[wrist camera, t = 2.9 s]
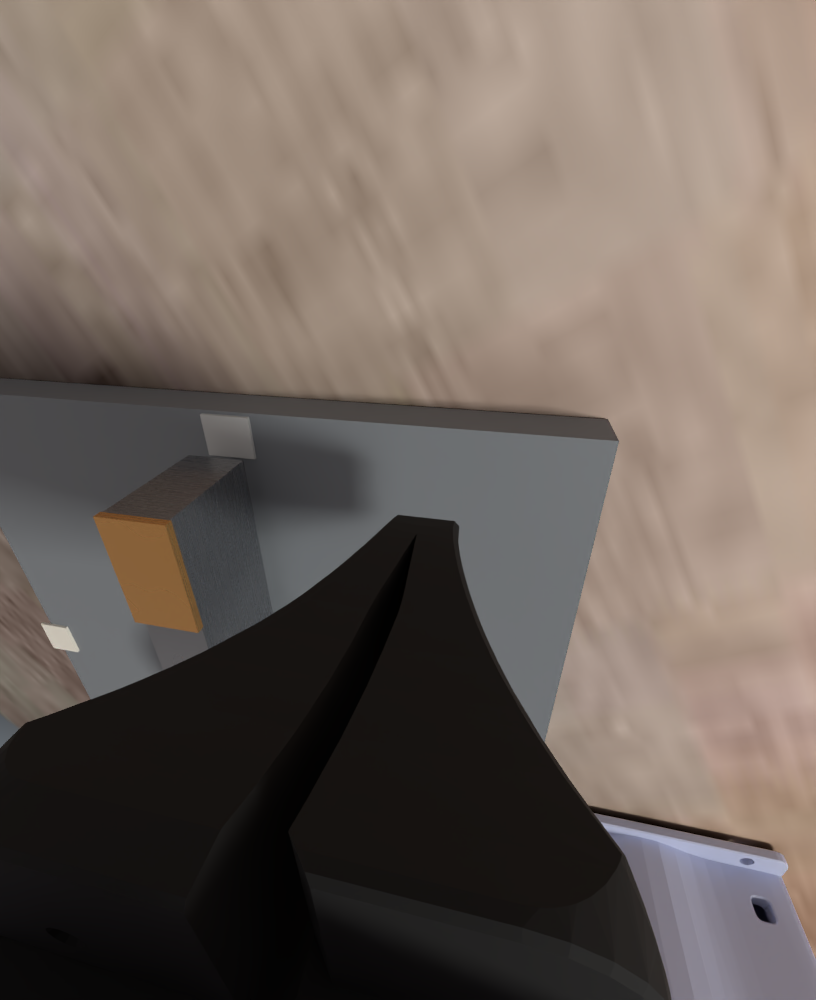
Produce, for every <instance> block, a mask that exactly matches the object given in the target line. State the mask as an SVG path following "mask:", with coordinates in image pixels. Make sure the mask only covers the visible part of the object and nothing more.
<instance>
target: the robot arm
mask: <svg viewBox="0 0 816 1000" xmlns="http://www.w3.org/2000/svg"><path fill="white" fill-rule="evenodd" d="M458 539H459V525H458V524H457V523H456V522H455V521H450V520H441V519H432V518H423V517H414V516H405V515H397V516H396V517H394V518H393V519H392V520H391V521H390V522H388V523H387V524H386V525H385V526H384V527H383V528H382V529H381V530H380V531H379V532H378V533H377V534H376V535H374V536H373V537H372V538H371V539H370V540H369V541H368V542H367V543H366V544H364V545H363V546H362V547H361V548H360V549H359V550H358V551H356V552H355V553H354V554H353V555H352V556H351V557H349V558H348V559H347V560H346V561H345V562H344V563H342V564H341V565H340V566H339V567H338V568H336V569H335V570H334V571H333V572H331V573H330V574H329V575H327V576H326V577H325V578H323V579H322V580H321V581H319V582H318V583H317V584H315V585H314V586H313V587H312V588H310V589H309V590H308V591H306V592H305V593H303V594H302V595H301V596H299V597H298V598H296V599H295V600H293V601H292V602H290V603H289V604H287V605H286V606H284V607H283V608H281V609H279V610H278V611H276V612H274V613H273V614H271V615H270V616H268V617H266V618H265V619H263V620H261V621H260V622H258V623H256V624H255V625H253V626H251V627H249V628H247V629H245V630H243V631H241V632H240V633H238V634H236V635H234V636H232V637H230V638H228V639H226V640H225V641H223V642H221V643H219V644H217V645H215V646H213V647H211V648H209V649H208V650H206V651H204V652H202V653H200V654H197V655H195V656H193V657H191V658H189V659H187V660H185V661H182V662H180V663H178V664H176V665H174V666H172V667H169V668H167V669H165V670H163V671H160V672H158V673H156V674H153V675H151V676H149V677H146V678H144V679H142V680H139V681H137V682H135V683H132V684H130V685H127V686H125V687H122V688H120V689H117V690H115V691H112V692H110V693H107V694H104V695H101V696H99V697H96V698H93V699H91V700H88V701H85V702H83V703H80V704H77V705H75V706H72V707H69V708H66V709H64V710H61V711H58V712H56V713H53V714H50V715H48V716H45V717H42V718H39V719H36V720H33V721H30V722H27V723H25V724H24V725H23V726H22V727H21V728H20V729H19V730H18V731H17V732H16V733H15V734H14V735H13V736H12V737H11V738H10V739H9V740H8V741H7V742H6V743H5V744H4V745H3V746H2V747H1V748H0V1000H816V959H815V956H814V954H813V952H812V949H811V947H810V944H809V942H808V940H807V937H806V935H805V932H804V930H803V927H802V925H801V923H800V920H799V918H798V915H797V913H796V911H795V908H794V906H793V903H792V901H791V898H790V896H789V894H788V891H787V889H786V886H785V884H784V882H783V879H782V877H781V876H782V875H783V874H784V873H785V872H786V871H787V869H788V864H787V862H786V860H785V858H784V856H783V855H782V854H780V853H779V852H776V851H772V850H767V849H763V848H758V847H753V846H749V845H744V844H739V843H734V842H730V841H725V840H720V839H715V838H711V837H706V836H701V835H696V834H692V833H687V832H682V831H677V830H673V829H668V828H663V827H659V826H654V825H649V824H644V823H640V822H635V821H630V820H625V819H621V818H616V817H611V816H606V815H602V814H597V813H593V812H592V810H591V809H590V808H589V806H588V805H587V803H586V802H585V801H584V799H583V798H582V796H581V795H580V794H579V792H578V791H577V789H576V788H575V787H574V785H573V784H572V782H571V781H570V780H569V778H568V777H567V775H566V774H565V772H564V771H563V769H562V768H561V766H560V765H559V763H558V762H557V760H556V759H555V757H554V756H553V754H552V753H551V751H550V750H549V748H548V747H547V745H546V744H545V742H544V741H543V739H542V738H541V736H540V734H539V733H538V731H537V729H536V728H535V726H534V724H533V723H532V721H531V719H530V718H529V716H528V714H527V713H526V711H525V709H524V708H523V706H522V704H521V703H520V701H519V699H518V698H517V696H516V694H515V693H514V691H513V689H512V687H511V686H510V684H509V682H508V680H507V678H506V676H505V674H504V672H503V670H502V668H501V666H500V664H499V663H498V661H497V658H496V656H495V654H494V652H493V650H492V648H491V646H490V644H489V641H488V639H487V637H486V635H485V632H484V630H483V627H482V625H481V623H480V620H479V617H478V615H477V612H476V609H475V607H474V604H473V601H472V598H471V595H470V592H469V589H468V585H467V582H466V578H465V574H464V571H463V567H462V562H461V557H460V551H459V543H458Z"/></svg>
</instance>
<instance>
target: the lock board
mask: <svg viewBox="0 0 816 1000" xmlns="http://www.w3.org/2000/svg"><path fill="white" fill-rule="evenodd" d="M618 443H619V440H618V438H617V436H616V434H615V432H614V430H613V428H612V426H611V424H610V422H609V420H608V419H596V418H581V417H567V416H552V415H537V414H522V413H507V412H493V411H478V410H463V409H448V408H434V407H419V406H404V405H389V404H375V403H360V402H345V401H330V400H315V399H301V398H286V397H271V396H256V395H242V394H227V393H212V392H197V391H182V390H168V389H153V388H138V387H123V386H109V385H94V384H79V383H64V382H49V381H35V380H20V379H5V378H0V527H1V529H2V531H3V533H4V535H5V536H6V538H7V540H8V542H9V544H10V546H11V548H12V550H13V552H14V554H15V556H16V557H17V559H18V561H19V563H20V565H21V567H22V569H23V571H24V573H25V575H26V576H27V578H28V580H29V582H30V584H31V586H32V588H33V590H34V592H35V594H36V596H37V597H38V599H39V601H40V603H41V605H42V607H43V609H44V611H45V613H46V615H47V617H48V618H49V620H50V622H51V623H45V622H43V623H41V625H42V627H43V629H44V631H45V632H46V634H47V636H48V638H49V640H50V642H51V644H52V645H53V647H54V648H57V649H63V650H65V651H66V653H67V655H68V657H69V659H70V660H71V662H72V664H73V666H74V668H75V670H76V672H77V674H78V676H79V678H80V680H81V681H82V683H83V685H84V687H85V689H86V691H87V693H88V695H89V697H90V699H93V698H96V697H99V696H101V695H104V694H107V693H110V692H112V691H115V690H117V689H120V688H122V687H125V686H127V685H130V684H132V683H135V682H137V681H139V680H142V679H144V678H146V677H149V676H151V675H153V674H156V673H158V672H160V671H163V668H162V666H161V663H160V661H159V658H158V655H157V653H156V650H155V648H154V645H153V642H152V640H151V637H150V635H149V632H148V629H147V627H146V624H142V623H136V622H135V621H134V618H133V616H132V613H131V611H130V608H129V606H128V603H127V601H126V598H125V596H124V593H123V591H122V588H121V586H120V583H119V581H118V578H117V576H116V573H115V571H114V568H113V566H112V563H111V561H110V558H109V556H108V553H107V551H106V548H105V546H104V543H103V541H102V538H101V536H100V533H99V531H98V528H97V526H96V523H95V521H94V518H93V516H94V515H96V514H97V513H99V512H103V511H104V510H106V509H107V508H109V507H111V506H112V505H114V504H115V503H117V502H118V501H120V500H121V499H123V498H124V497H126V496H127V495H129V494H130V493H132V492H133V491H135V490H136V489H138V488H139V487H141V486H142V485H144V484H145V483H147V482H148V481H150V480H151V479H153V478H154V477H156V476H157V475H159V474H161V473H162V472H164V471H165V470H167V469H168V468H170V467H171V466H173V465H174V464H176V463H177V462H179V461H180V460H182V459H183V458H185V457H186V456H188V455H193V456H204V457H214V458H225V459H236V460H243V461H244V467H245V472H246V477H247V482H248V487H249V492H250V498H251V503H252V508H253V513H254V518H255V523H256V529H257V534H258V539H259V544H260V549H261V554H262V559H263V565H264V570H265V575H266V580H267V585H268V590H269V596H270V601H271V606H272V611H273V613H274V612H276V611H278V610H279V609H281V608H283V607H284V606H286V605H287V604H289V603H290V602H292V601H293V600H295V599H296V598H298V597H299V596H301V595H302V594H303V593H305V592H306V591H308V590H309V589H310V588H312V587H313V586H314V585H315V584H317V583H318V582H319V581H321V580H322V579H323V578H325V577H326V576H327V575H329V574H330V573H331V572H333V571H334V570H335V569H336V568H338V567H339V566H340V565H341V564H342V563H344V562H345V561H346V560H347V559H348V558H349V557H351V556H352V555H353V554H354V553H355V552H356V551H358V550H359V549H360V548H361V547H362V546H363V545H364V544H366V543H367V542H368V541H369V540H370V539H371V538H372V537H373V536H374V535H376V534H377V533H378V532H379V531H380V530H381V529H382V528H383V527H384V526H385V525H386V524H387V523H388V522H390V521H391V520H392V519H393V518H394V517H396V516H397V515H405V516H414V517H423V518H432V519H441V520H450V521H455V522H456V523H457V524H458V525H459V539H458V543H459V551H460V557H461V562H462V567H463V571H464V574H465V578H466V582H467V585H468V589H469V592H470V595H471V598H472V601H473V604H474V607H475V609H476V612H477V615H478V617H479V620H480V623H481V625H482V627H483V630H484V632H485V635H486V637H487V639H488V641H489V644H490V646H491V648H492V650H493V652H494V654H495V656H496V658H497V661H498V663H499V664H500V666H501V668H502V670H503V672H504V674H505V676H506V678H507V680H508V682H509V684H510V686H511V687H512V689H513V691H514V693H515V694H516V696H517V698H518V699H519V701H520V703H521V704H522V706H523V708H524V709H525V711H526V713H527V714H528V716H529V718H530V719H531V721H532V723H533V724H534V726H535V728H536V729H537V731H538V733H539V734H540V736H541V738H542V739H543V741H544V742H545V738H546V734H547V730H548V726H549V722H550V718H551V714H552V710H553V706H554V702H555V697H556V693H557V689H558V685H559V681H560V677H561V673H562V669H563V665H564V661H565V657H566V653H567V649H568V645H569V641H570V637H571V633H572V629H573V625H574V621H575V617H576V613H577V609H578V604H579V600H580V596H581V592H582V588H583V584H584V580H585V576H586V572H587V568H588V564H589V560H590V556H591V552H592V548H593V544H594V540H595V536H596V532H597V528H598V524H599V520H600V515H601V511H602V507H603V503H604V499H605V495H606V491H607V487H608V483H609V479H610V475H611V471H612V467H613V463H614V459H615V455H616V451H617V447H618Z"/></svg>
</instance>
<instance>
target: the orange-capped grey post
mask: <svg viewBox="0 0 816 1000" xmlns="http://www.w3.org/2000/svg"><path fill="white" fill-rule="evenodd" d="M93 518H94V521H95V523H96V526H97V528H98V531H99V533H100V536H101V538H102V541H103V543H104V546H105V548H106V551H107V553H108V556H109V558H110V561H111V563H112V566H113V568H114V571H115V573H116V576H117V578H118V581H119V583H120V586H121V588H122V591H123V593H124V596H125V598H126V601H127V603H128V606H129V608H130V611H131V613H132V616H133V618H134V621H135V622H136V623H142V624H146V627H147V629H148V632H149V635H150V637H151V640H152V642H153V645H154V648H155V650H156V653H157V655H158V658H159V661H160V663H161V666H162V668H163V670H165V669H167V668H169V667H172V666H174V665H176V664H178V663H180V662H182V661H185V660H187V659H189V658H191V657H193V656H195V655H197V654H200V653H202V652H204V651H206V650H208V649H209V648H211V647H213V646H215V645H217V644H219V643H221V642H223V641H225V640H226V639H228V638H230V637H232V636H234V635H236V634H238V633H240V632H241V631H243V630H245V629H247V628H249V627H251V626H253V625H255V624H256V623H258V622H260V621H261V620H263V619H265V618H266V617H268V616H270V615H271V614H273V611H272V606H271V601H270V596H269V590H268V585H267V580H266V575H265V570H264V565H263V559H262V554H261V549H260V544H259V539H258V534H257V529H256V523H255V518H254V513H253V508H252V503H251V498H250V492H249V487H248V482H247V477H246V472H245V467H244V461H243V460H236V459H225V458H214V457H204V456H193V455H188V456H186V457H185V458H183V459H182V460H180V461H179V462H177V463H176V464H174V465H173V466H171V467H170V468H168V469H167V470H165V471H164V472H162V473H161V474H159V475H157V476H156V477H154V478H153V479H151V480H150V481H148V482H147V483H145V484H144V485H142V486H141V487H139V488H138V489H136V490H135V491H133V492H132V493H130V494H129V495H127V496H126V497H124V498H123V499H121V500H120V501H118V502H117V503H115V504H114V505H112V506H111V507H109V508H107V509H106V510H104V511H103V512H99V513H97V514H96V515H94V516H93Z"/></svg>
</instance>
